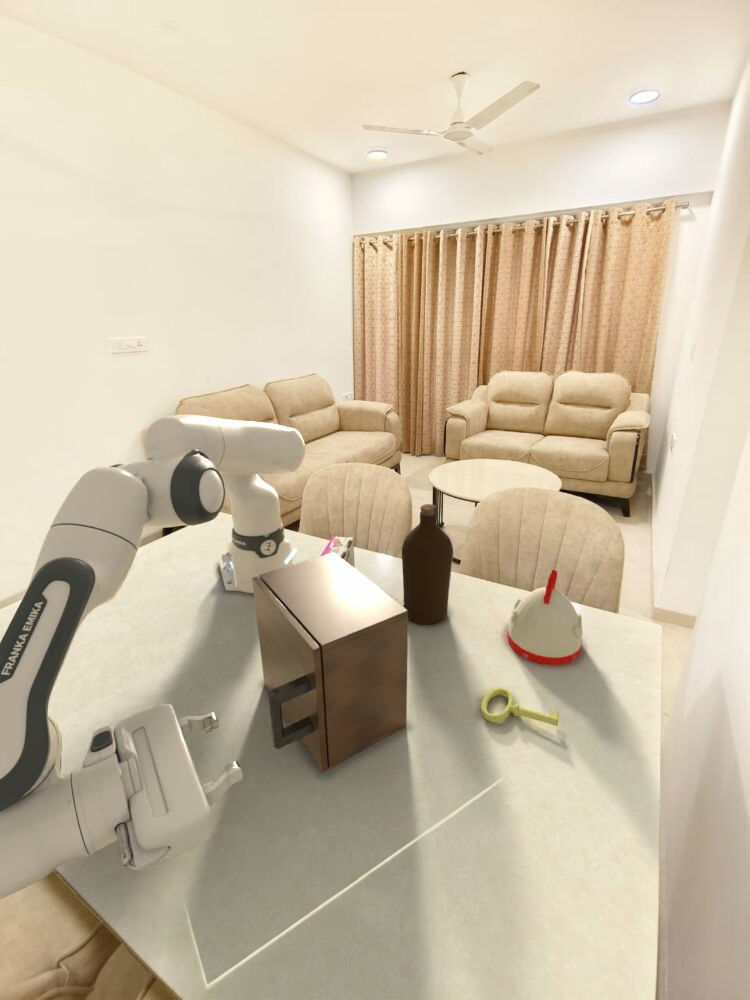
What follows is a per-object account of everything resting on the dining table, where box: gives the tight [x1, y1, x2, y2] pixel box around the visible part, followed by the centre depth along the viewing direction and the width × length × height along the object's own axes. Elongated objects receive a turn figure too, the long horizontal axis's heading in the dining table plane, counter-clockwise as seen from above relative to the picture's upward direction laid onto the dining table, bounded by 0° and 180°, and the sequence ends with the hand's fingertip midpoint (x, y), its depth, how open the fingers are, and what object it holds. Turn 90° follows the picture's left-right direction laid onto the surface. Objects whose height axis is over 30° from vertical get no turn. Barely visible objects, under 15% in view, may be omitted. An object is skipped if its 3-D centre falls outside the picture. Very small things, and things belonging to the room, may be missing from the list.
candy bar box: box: [320, 535, 356, 569], centre depth 106 cm, size 11×5×16 cm, turn 168°
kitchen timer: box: [506, 569, 583, 666], centre depth 97 cm, size 14×14×15 cm
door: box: [252, 576, 329, 773], centre depth 76 cm, size 7×22×22 cm, turn 33°
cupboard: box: [259, 552, 409, 770], centre depth 81 cm, size 14×22×22 cm, turn 33°
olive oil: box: [401, 503, 454, 626], centre depth 105 cm, size 11×11×25 cm
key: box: [480, 687, 560, 727], centre depth 83 cm, size 7×12×2 cm, turn 78°
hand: (228, 742), depth 64 cm, fingers open, 8 cm apart
